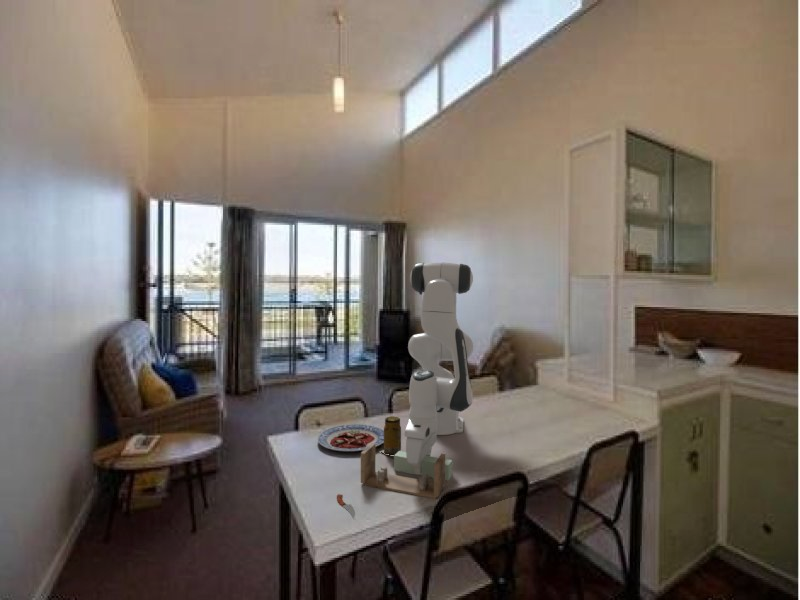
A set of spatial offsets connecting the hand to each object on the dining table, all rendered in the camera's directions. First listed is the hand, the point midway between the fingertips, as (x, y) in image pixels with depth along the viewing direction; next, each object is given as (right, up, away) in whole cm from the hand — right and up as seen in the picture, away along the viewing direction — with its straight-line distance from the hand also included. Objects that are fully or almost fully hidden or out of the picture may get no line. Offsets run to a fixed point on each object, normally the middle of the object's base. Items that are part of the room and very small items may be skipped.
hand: (422, 466), depth 136 cm
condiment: (-9, -1, +15) cm, 18 cm away
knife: (-21, -4, -20) cm, 29 cm away
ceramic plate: (-25, -1, +25) cm, 35 cm away
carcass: (-6, -2, -8) cm, 11 cm away
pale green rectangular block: (0, -2, 0) cm, 2 cm away
